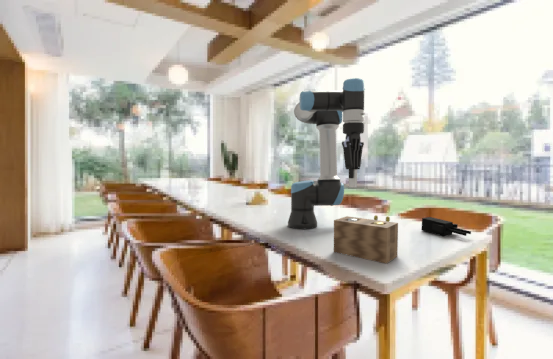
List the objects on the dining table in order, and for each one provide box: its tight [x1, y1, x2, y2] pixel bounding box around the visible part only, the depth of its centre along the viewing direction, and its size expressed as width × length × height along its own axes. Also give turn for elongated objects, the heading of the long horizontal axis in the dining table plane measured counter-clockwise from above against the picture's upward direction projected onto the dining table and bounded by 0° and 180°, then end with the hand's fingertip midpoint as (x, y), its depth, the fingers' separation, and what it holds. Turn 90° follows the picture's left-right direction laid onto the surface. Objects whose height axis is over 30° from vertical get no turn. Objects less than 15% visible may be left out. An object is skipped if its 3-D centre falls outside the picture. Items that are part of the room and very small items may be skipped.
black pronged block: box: [421, 216, 472, 237], centre depth 139 cm, size 11×6×20 cm
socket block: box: [333, 215, 399, 264], centre depth 112 cm, size 20×10×12 cm, turn 49°
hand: (352, 186), depth 114 cm, fingers closed
